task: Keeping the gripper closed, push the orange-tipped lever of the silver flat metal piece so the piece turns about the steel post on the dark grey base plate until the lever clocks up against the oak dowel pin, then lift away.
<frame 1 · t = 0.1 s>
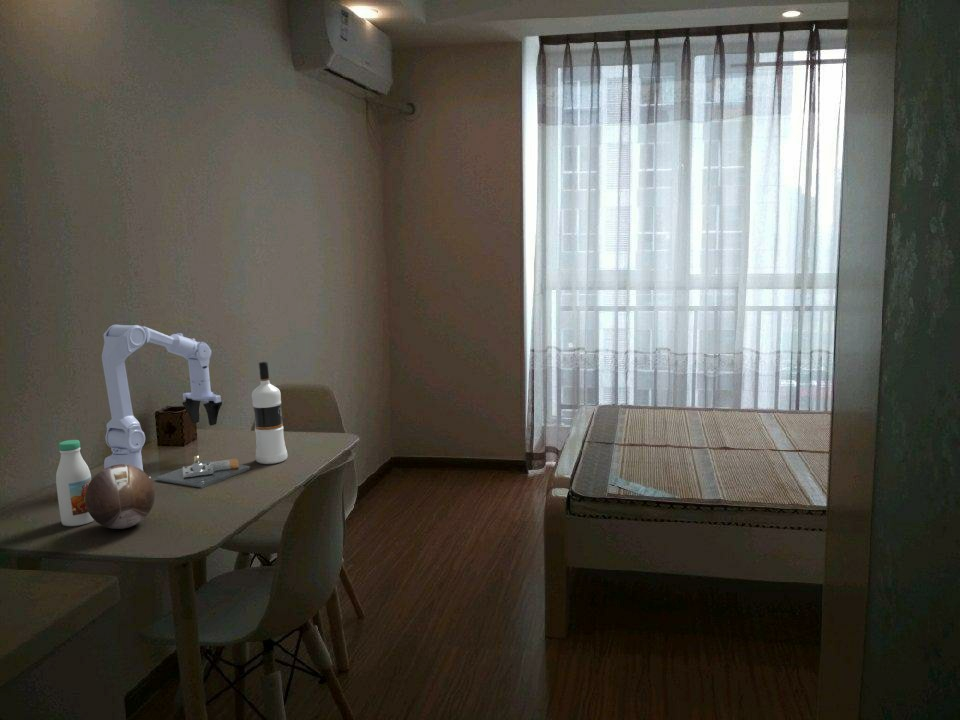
hand: (204, 423, 252), 10 cm above the table, tool pointing down, fingers open, 7 cm apart
base plate: (198, 476, 232), on the table
milk bottle: (79, 522, 199), on the table
shiny brown metallic sphere: (124, 527, 194), on the table
vodka: (272, 461, 245), on the table
silver flat metal piece: (210, 466, 233), point 2 cm above the table, hinge at 0.0°
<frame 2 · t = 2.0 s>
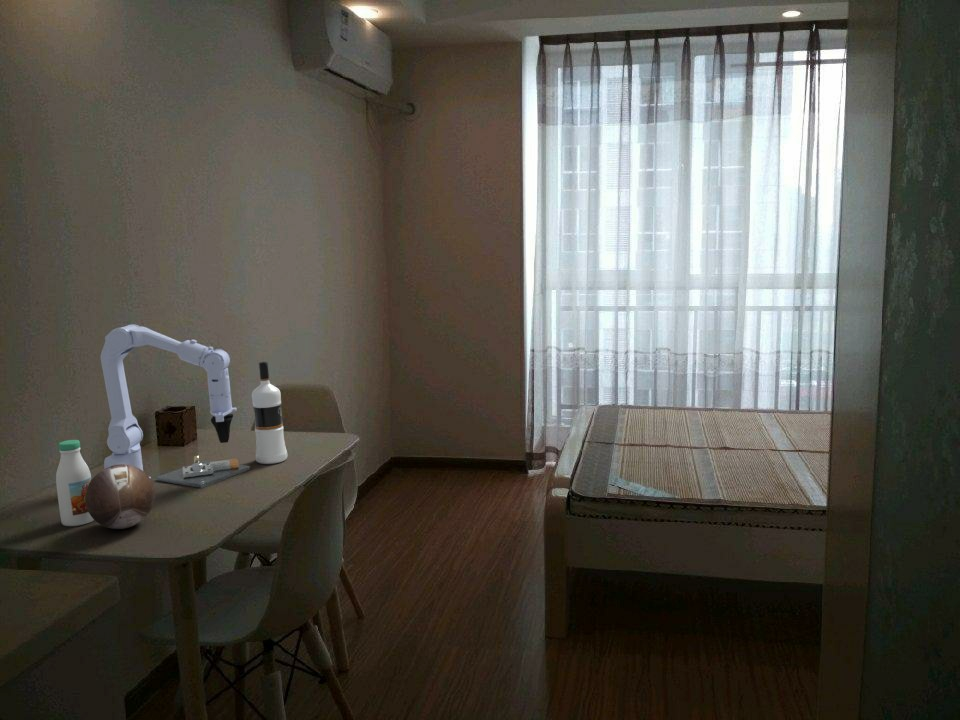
hand: (224, 441, 228), 10 cm above the table, tool pointing down, fingers closed
nothing on the table moved.
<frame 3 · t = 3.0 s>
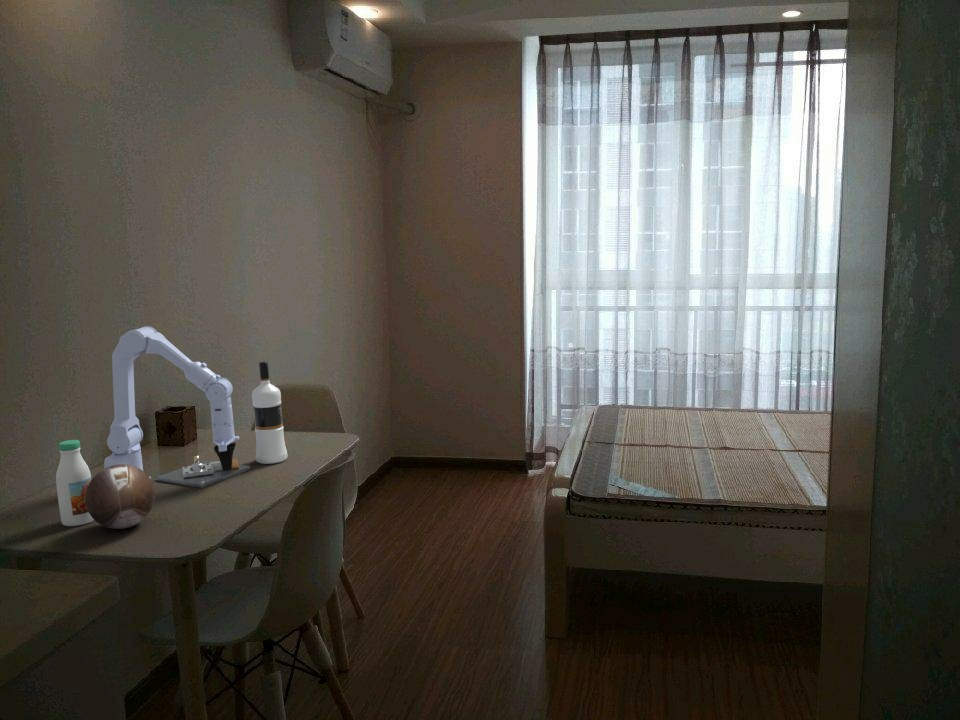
hand: (227, 469, 229), 2 cm above the table, tool pointing down, fingers closed
nothing on the table moved.
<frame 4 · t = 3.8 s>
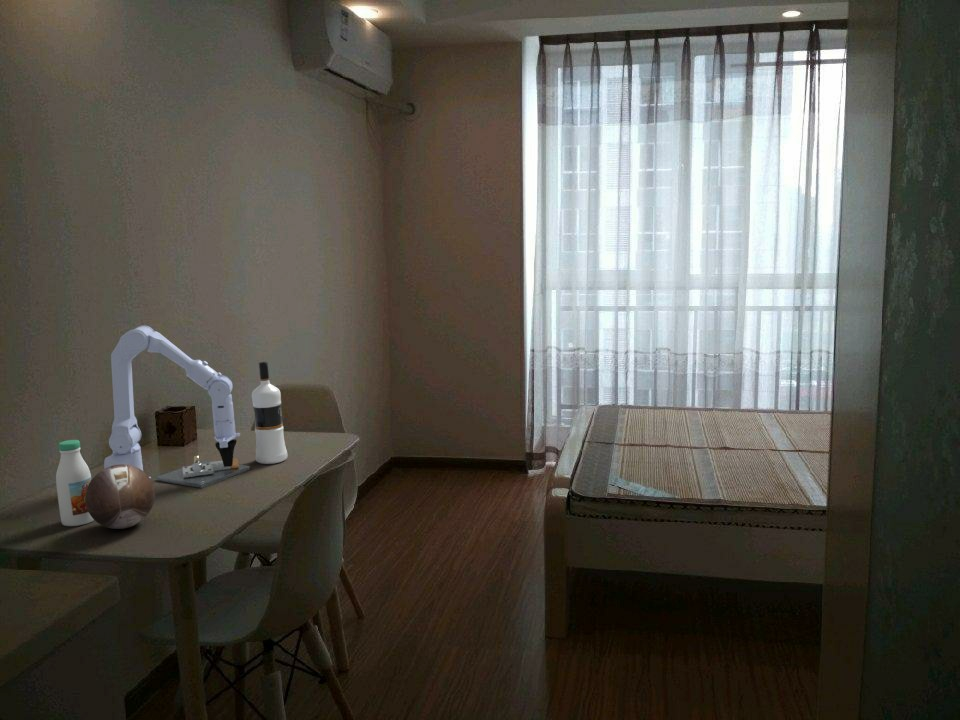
hand: (228, 466, 233), 2 cm above the table, tool pointing down, fingers closed, pressing on silver flat metal piece
silver flat metal piece: (210, 466, 233), point 2 cm above the table, hinge at 0.5°, touching gripper
everything else where it was.
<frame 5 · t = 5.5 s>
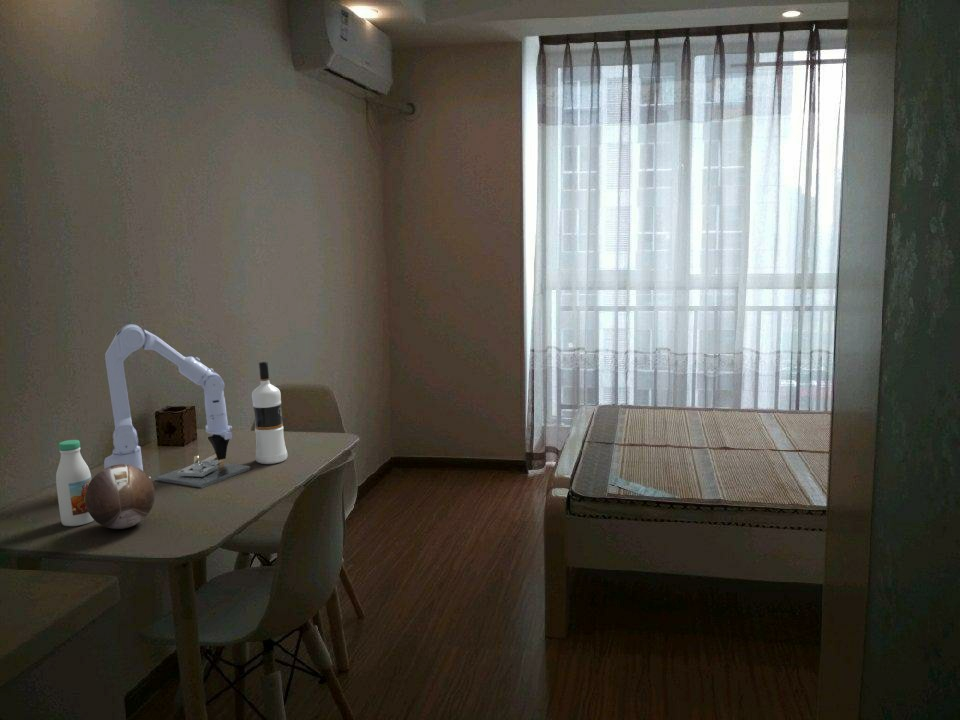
hand: (221, 459, 239), 2 cm above the table, tool pointing down, fingers closed, pressing on silver flat metal piece
silver flat metal piece: (204, 464, 235), point 2 cm above the table, hinge at 54.9°, touching gripper
everything else where it was.
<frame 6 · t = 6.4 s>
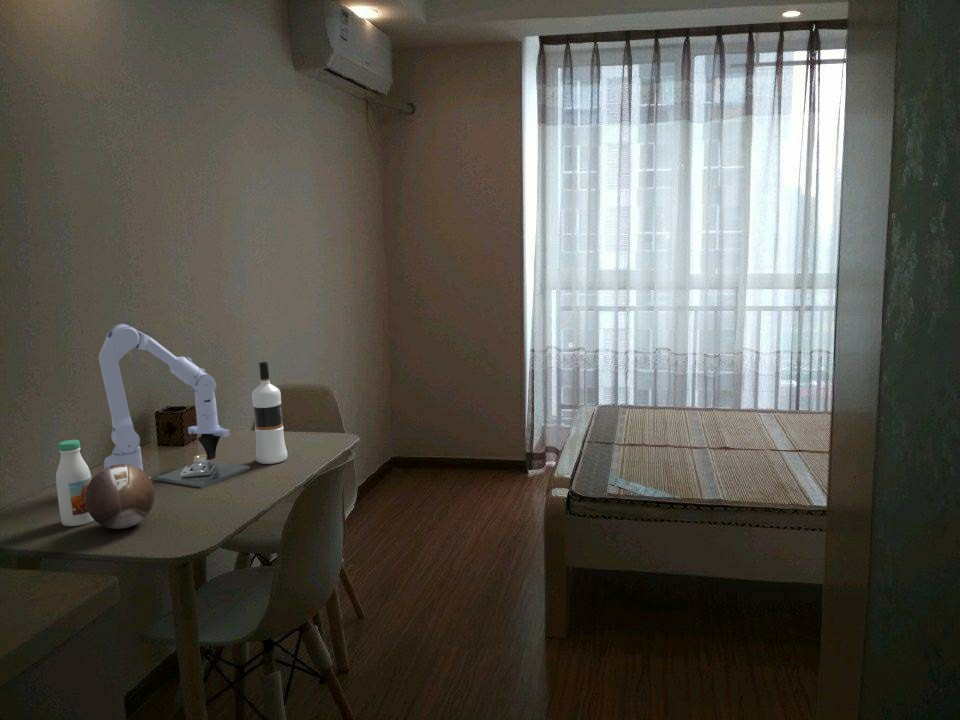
hand: (211, 458, 241), 2 cm above the table, tool pointing down, fingers closed, pressing on silver flat metal piece
silver flat metal piece: (200, 464, 235), point 2 cm above the table, hinge at 77.3°, touching gripper
everything else where it was.
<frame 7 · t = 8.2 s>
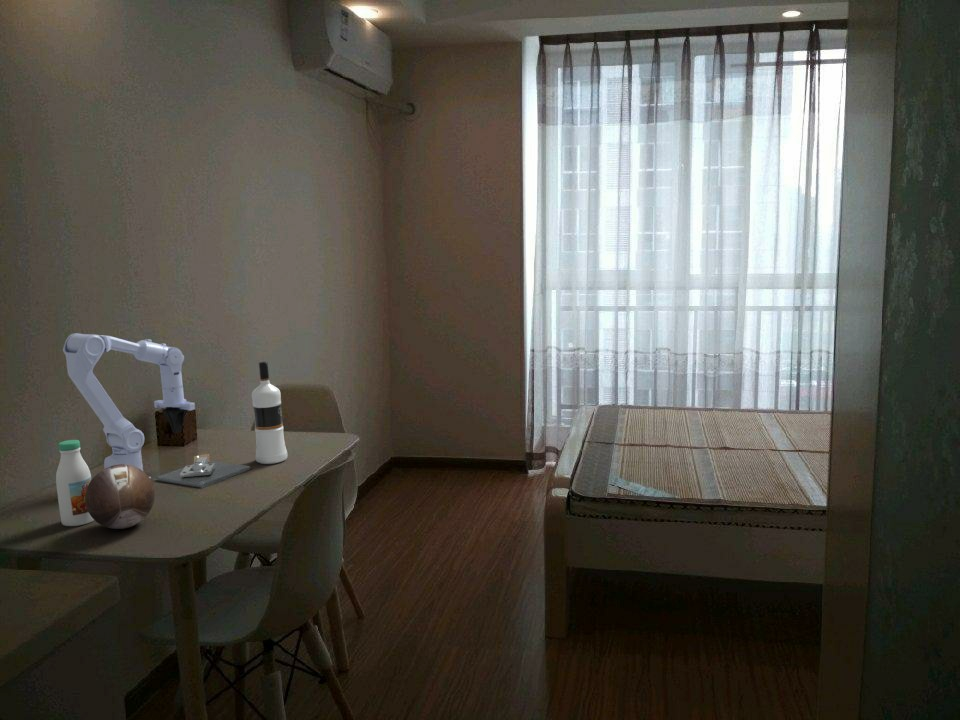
hand: (177, 432, 241), 10 cm above the table, tool pointing down, fingers closed
silver flat metal piece: (200, 464, 235), point 2 cm above the table, hinge at 77.3°
everything else where it was.
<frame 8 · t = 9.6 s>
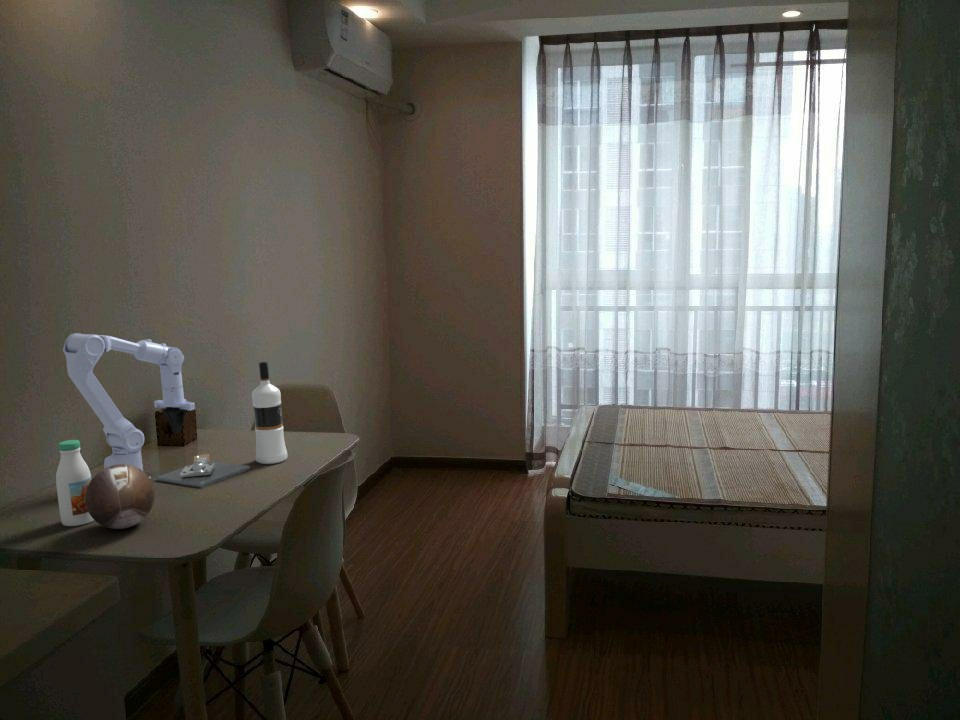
hand: (177, 432, 241), 10 cm above the table, tool pointing down, fingers closed
nothing on the table moved.
at the end: silver flat metal piece at +77° (first picture: +0°); the gripper is holding nothing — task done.
